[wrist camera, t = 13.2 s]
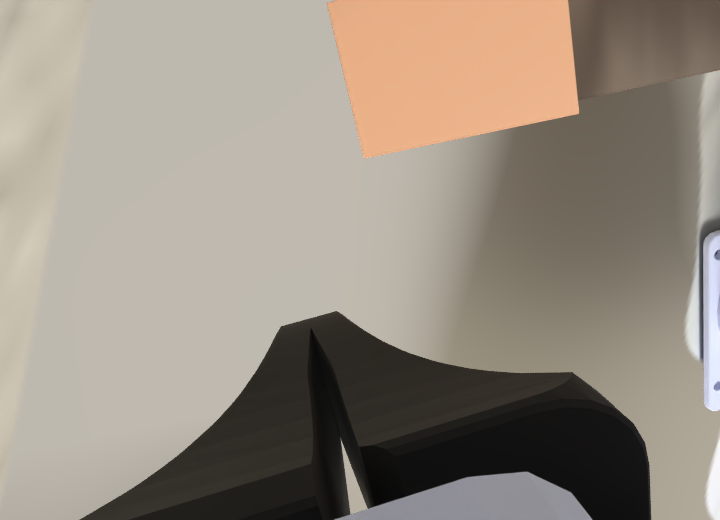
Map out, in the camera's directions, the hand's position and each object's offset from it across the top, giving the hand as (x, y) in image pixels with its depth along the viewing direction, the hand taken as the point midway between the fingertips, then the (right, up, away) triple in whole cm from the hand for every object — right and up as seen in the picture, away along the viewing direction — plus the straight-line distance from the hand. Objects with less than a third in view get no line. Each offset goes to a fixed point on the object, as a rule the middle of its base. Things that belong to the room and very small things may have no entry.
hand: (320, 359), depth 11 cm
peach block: (+1, +8, +7) cm, 11 cm away
